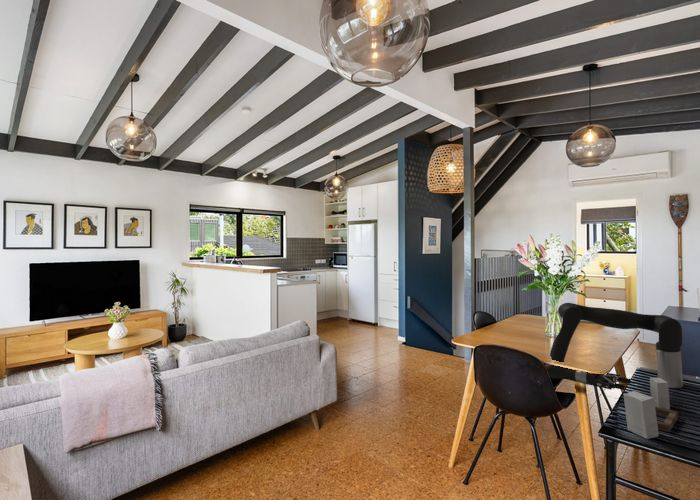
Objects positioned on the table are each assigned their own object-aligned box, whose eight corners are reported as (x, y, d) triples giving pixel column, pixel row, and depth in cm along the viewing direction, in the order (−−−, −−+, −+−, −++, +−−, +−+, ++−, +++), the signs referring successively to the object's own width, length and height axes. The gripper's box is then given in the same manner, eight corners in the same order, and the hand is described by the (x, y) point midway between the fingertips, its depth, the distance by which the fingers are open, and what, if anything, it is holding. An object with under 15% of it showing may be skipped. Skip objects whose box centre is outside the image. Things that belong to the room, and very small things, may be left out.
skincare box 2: (670, 410, 161) (668, 382, 161) (659, 410, 162) (657, 382, 162) (661, 404, 167) (660, 377, 167) (650, 404, 168) (648, 377, 168)
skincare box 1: (659, 436, 144) (656, 398, 143) (646, 440, 142) (643, 401, 142) (637, 426, 152) (635, 389, 151) (625, 429, 150) (622, 392, 150)
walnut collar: (636, 407, 166) (636, 402, 166) (678, 417, 155) (677, 411, 155) (625, 420, 157) (625, 414, 156) (669, 432, 146) (668, 426, 146)
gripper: (581, 373, 181) (622, 381, 169) (592, 364, 190) (631, 371, 178) (583, 388, 182) (623, 397, 169) (593, 379, 191) (633, 387, 178)
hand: (627, 384), depth 173 cm, fingers open, 8 cm apart
